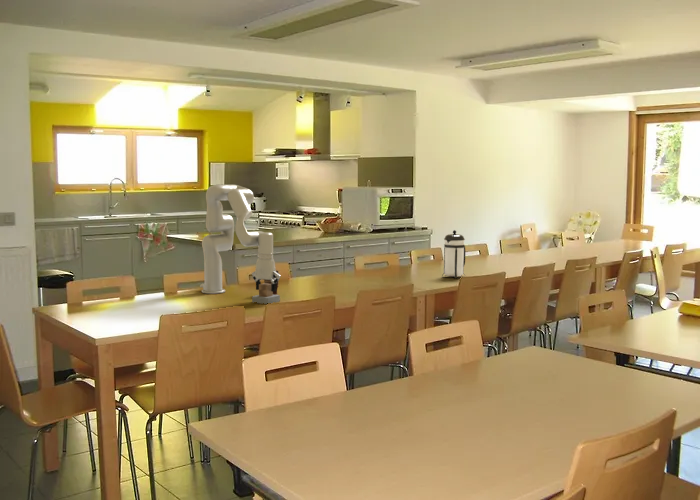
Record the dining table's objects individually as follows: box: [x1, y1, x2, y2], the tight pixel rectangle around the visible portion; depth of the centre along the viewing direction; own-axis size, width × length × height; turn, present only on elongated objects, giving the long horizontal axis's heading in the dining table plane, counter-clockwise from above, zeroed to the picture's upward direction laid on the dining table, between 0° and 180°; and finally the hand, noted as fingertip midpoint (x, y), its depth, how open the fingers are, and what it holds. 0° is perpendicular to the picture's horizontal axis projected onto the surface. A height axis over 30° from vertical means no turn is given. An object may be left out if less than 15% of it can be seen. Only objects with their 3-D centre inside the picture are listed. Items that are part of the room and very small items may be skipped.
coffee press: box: [441, 229, 466, 279], centre depth 455 cm, size 17×16×30 cm
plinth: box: [251, 294, 281, 305], centre depth 364 cm, size 10×10×3 cm
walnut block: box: [258, 282, 273, 297], centre depth 364 cm, size 5×5×6 cm
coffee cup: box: [263, 270, 280, 295], centre depth 384 cm, size 9×8×13 cm
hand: (266, 290), depth 364 cm, fingers open, 9 cm apart
